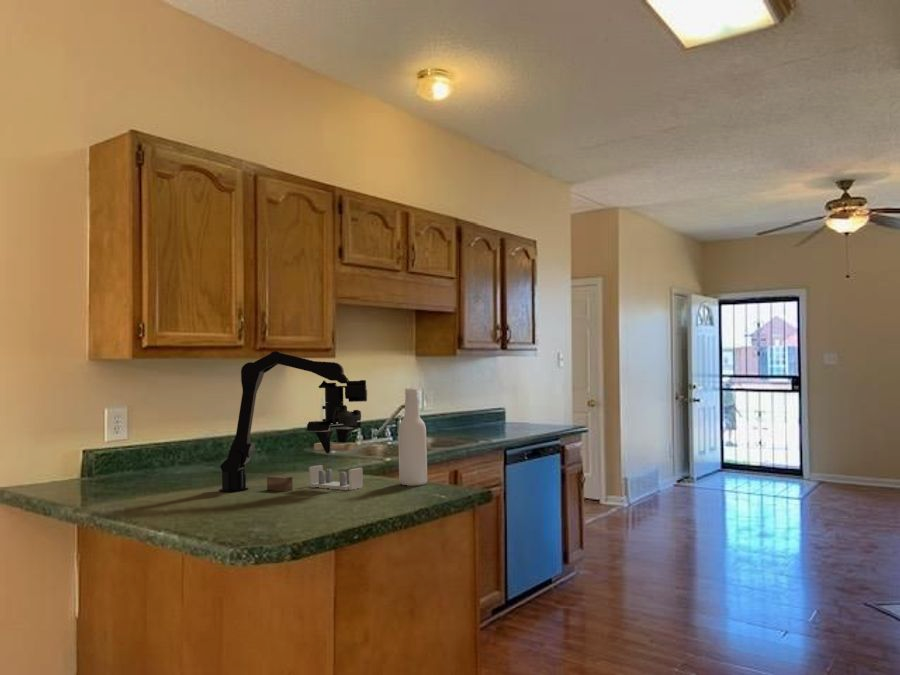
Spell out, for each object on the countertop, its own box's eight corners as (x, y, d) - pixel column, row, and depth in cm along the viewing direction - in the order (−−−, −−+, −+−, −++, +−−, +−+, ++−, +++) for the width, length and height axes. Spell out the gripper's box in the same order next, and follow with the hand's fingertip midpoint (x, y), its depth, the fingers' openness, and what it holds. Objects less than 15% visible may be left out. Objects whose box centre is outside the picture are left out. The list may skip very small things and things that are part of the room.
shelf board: (342, 451, 210) (342, 444, 210) (314, 449, 217) (314, 443, 217) (355, 449, 215) (355, 443, 215) (327, 448, 222) (327, 441, 222)
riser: (285, 491, 209) (284, 478, 209) (267, 489, 213) (267, 476, 213) (292, 490, 211) (292, 476, 211) (274, 488, 216) (274, 475, 216)
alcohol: (395, 483, 219) (393, 388, 221) (420, 481, 223) (418, 388, 225) (406, 487, 211) (403, 388, 213) (432, 484, 215) (429, 388, 217)
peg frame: (349, 490, 207) (349, 470, 208) (307, 486, 217) (306, 467, 218) (365, 487, 213) (364, 467, 214) (322, 483, 223) (322, 464, 224)
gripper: (332, 403, 205) (332, 456, 204) (373, 401, 220) (374, 450, 219) (305, 403, 211) (306, 455, 210) (347, 401, 226) (348, 449, 225)
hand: (334, 452), depth 216 cm, fingers closed on shelf board, 6 cm apart
